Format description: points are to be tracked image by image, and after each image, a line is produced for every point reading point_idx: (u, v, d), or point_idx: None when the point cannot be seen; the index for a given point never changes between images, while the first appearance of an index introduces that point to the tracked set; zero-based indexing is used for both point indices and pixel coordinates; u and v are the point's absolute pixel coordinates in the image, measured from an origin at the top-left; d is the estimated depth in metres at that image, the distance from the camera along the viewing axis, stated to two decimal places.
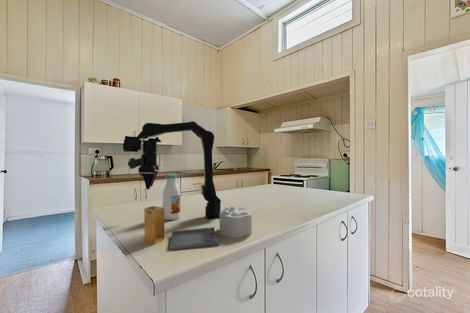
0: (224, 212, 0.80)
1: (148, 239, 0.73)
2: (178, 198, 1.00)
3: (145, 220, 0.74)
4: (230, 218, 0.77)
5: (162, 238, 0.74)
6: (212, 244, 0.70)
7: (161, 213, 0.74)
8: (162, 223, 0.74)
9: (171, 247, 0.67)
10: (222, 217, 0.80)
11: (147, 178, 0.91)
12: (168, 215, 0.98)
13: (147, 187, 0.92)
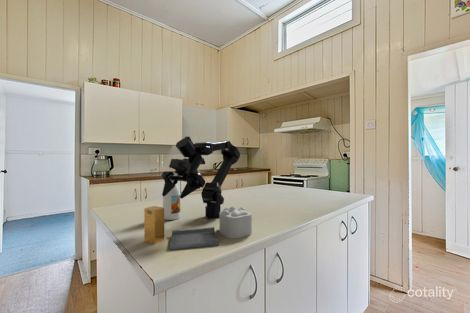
0: (224, 212, 0.80)
1: (148, 239, 0.73)
2: (178, 198, 1.00)
3: (145, 220, 0.74)
4: (230, 218, 0.77)
5: (162, 238, 0.74)
6: (212, 244, 0.70)
7: (161, 213, 0.74)
8: (162, 223, 0.74)
9: (171, 247, 0.67)
10: (222, 218, 0.80)
11: (189, 187, 0.81)
12: (168, 215, 0.98)
13: (182, 195, 0.79)
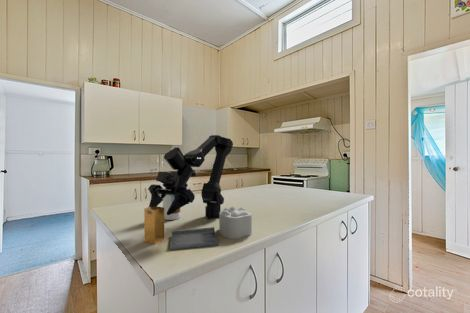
0: (224, 212, 0.80)
1: (148, 239, 0.73)
2: None
3: (145, 220, 0.74)
4: (230, 218, 0.76)
5: (162, 238, 0.74)
6: (212, 244, 0.70)
7: (161, 213, 0.74)
8: (162, 223, 0.74)
9: (171, 247, 0.67)
10: (221, 218, 0.80)
11: (177, 202, 0.76)
12: (168, 215, 0.98)
13: (169, 212, 0.74)
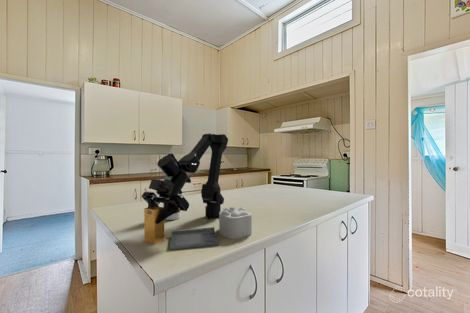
0: (224, 213, 0.79)
1: (148, 239, 0.73)
2: None
3: (145, 220, 0.74)
4: (230, 219, 0.76)
5: (162, 238, 0.74)
6: (212, 244, 0.70)
7: None
8: (162, 223, 0.74)
9: (171, 247, 0.67)
10: (221, 218, 0.80)
11: (166, 211, 0.74)
12: None
13: (158, 220, 0.72)
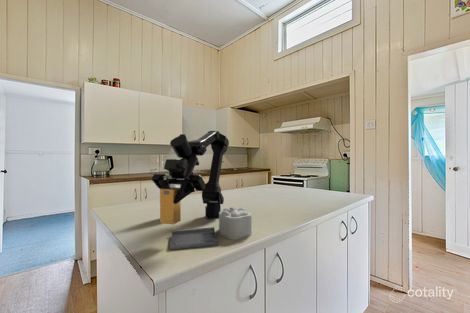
0: (224, 213, 0.79)
1: (165, 220, 0.71)
2: None
3: (161, 201, 0.71)
4: (230, 219, 0.76)
5: (179, 219, 0.73)
6: (212, 244, 0.70)
7: (177, 193, 0.72)
8: (178, 203, 0.73)
9: (171, 247, 0.67)
10: (221, 218, 0.79)
11: (183, 191, 0.73)
12: None
13: (177, 200, 0.71)
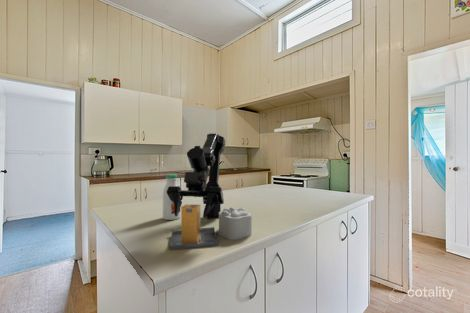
0: (224, 213, 0.79)
1: (187, 239, 0.70)
2: None
3: (182, 220, 0.70)
4: (230, 219, 0.76)
5: (199, 236, 0.72)
6: (212, 244, 0.70)
7: (199, 210, 0.72)
8: (199, 220, 0.72)
9: (171, 247, 0.67)
10: (221, 218, 0.79)
11: (209, 203, 0.73)
12: (168, 215, 0.98)
13: (205, 214, 0.70)
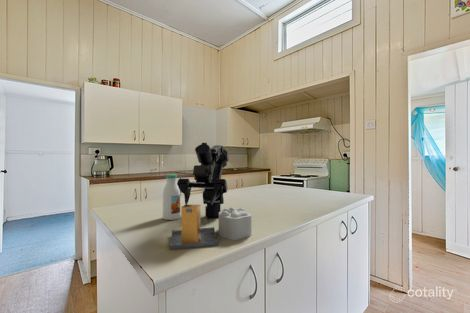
0: (223, 213, 0.78)
1: (187, 239, 0.70)
2: (178, 198, 1.00)
3: (182, 220, 0.70)
4: (230, 219, 0.75)
5: (199, 236, 0.72)
6: (212, 244, 0.70)
7: (199, 210, 0.72)
8: (199, 220, 0.72)
9: (171, 247, 0.67)
10: (221, 219, 0.79)
11: (215, 193, 0.82)
12: (168, 215, 0.98)
13: (212, 202, 0.79)
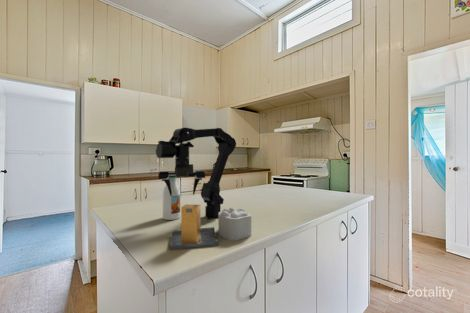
0: (223, 213, 0.78)
1: (187, 239, 0.70)
2: (178, 198, 1.00)
3: (182, 220, 0.70)
4: (230, 220, 0.75)
5: (199, 236, 0.72)
6: (212, 244, 0.70)
7: (199, 210, 0.72)
8: (199, 220, 0.72)
9: (171, 247, 0.67)
10: (221, 219, 0.78)
11: None
12: (168, 215, 0.98)
13: (194, 192, 0.94)
